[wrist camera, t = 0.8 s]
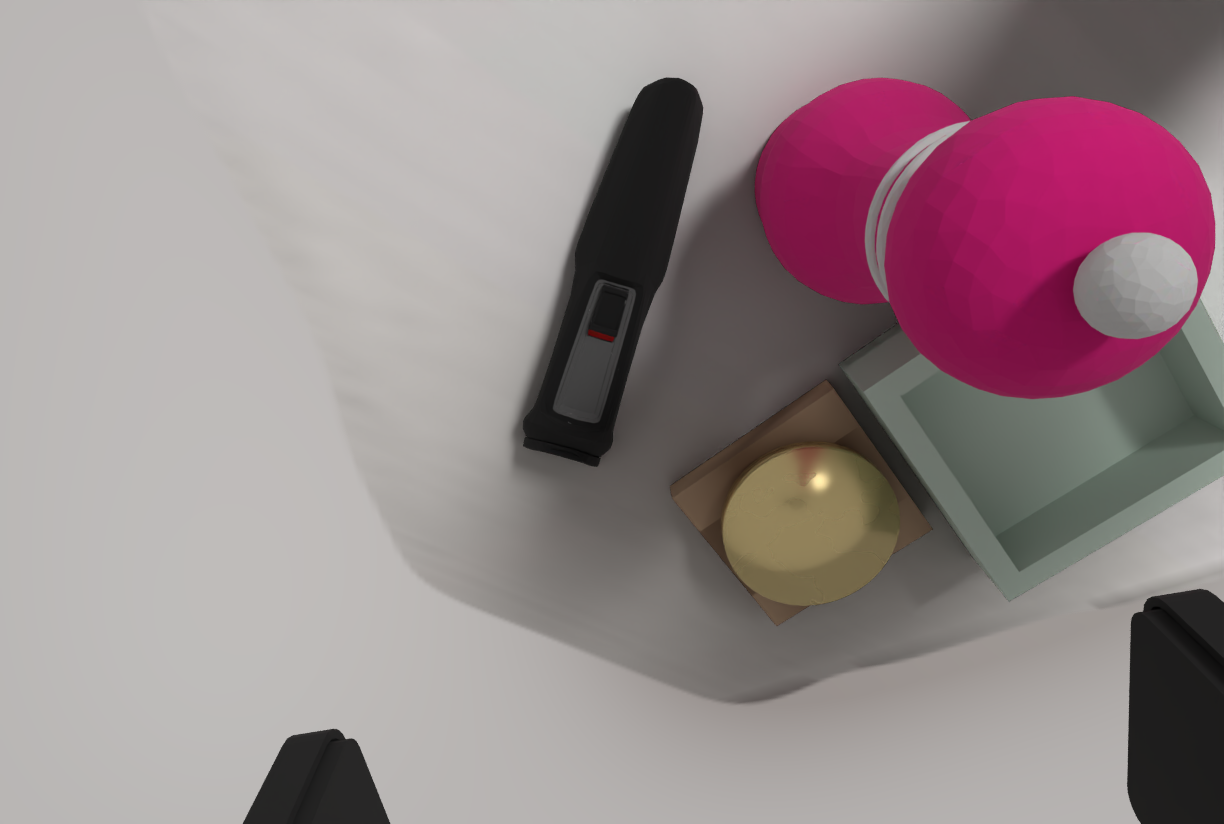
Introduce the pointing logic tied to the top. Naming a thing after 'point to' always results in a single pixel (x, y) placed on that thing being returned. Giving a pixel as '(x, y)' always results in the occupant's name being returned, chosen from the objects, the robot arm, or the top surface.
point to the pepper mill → (994, 229)
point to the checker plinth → (798, 422)
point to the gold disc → (809, 523)
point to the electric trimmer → (617, 273)
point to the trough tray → (1051, 449)
